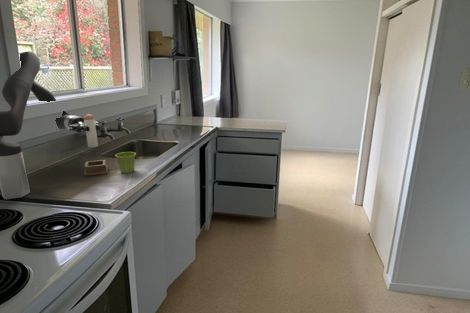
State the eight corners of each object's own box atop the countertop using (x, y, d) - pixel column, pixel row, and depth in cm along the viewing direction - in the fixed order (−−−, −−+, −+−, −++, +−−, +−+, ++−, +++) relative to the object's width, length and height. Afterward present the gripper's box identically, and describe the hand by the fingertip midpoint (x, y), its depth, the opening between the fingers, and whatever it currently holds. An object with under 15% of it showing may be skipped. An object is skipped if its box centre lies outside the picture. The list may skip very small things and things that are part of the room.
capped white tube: (97, 146, 149) (93, 114, 145) (87, 147, 148) (83, 115, 143) (98, 144, 153) (94, 113, 149) (88, 145, 152) (83, 113, 147)
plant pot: (116, 169, 156) (114, 152, 153) (136, 167, 160) (134, 150, 157) (117, 175, 148) (115, 158, 145) (138, 173, 151) (137, 155, 149)
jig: (107, 173, 151) (106, 165, 150) (84, 175, 148) (83, 167, 147) (107, 166, 160) (106, 159, 159) (85, 169, 157) (84, 161, 156)
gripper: (59, 118, 150) (77, 122, 140) (88, 114, 160) (107, 118, 150) (61, 133, 152) (79, 139, 142) (90, 128, 163) (108, 133, 153)
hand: (93, 128), depth 146 cm, fingers closed on capped white tube, 4 cm apart
